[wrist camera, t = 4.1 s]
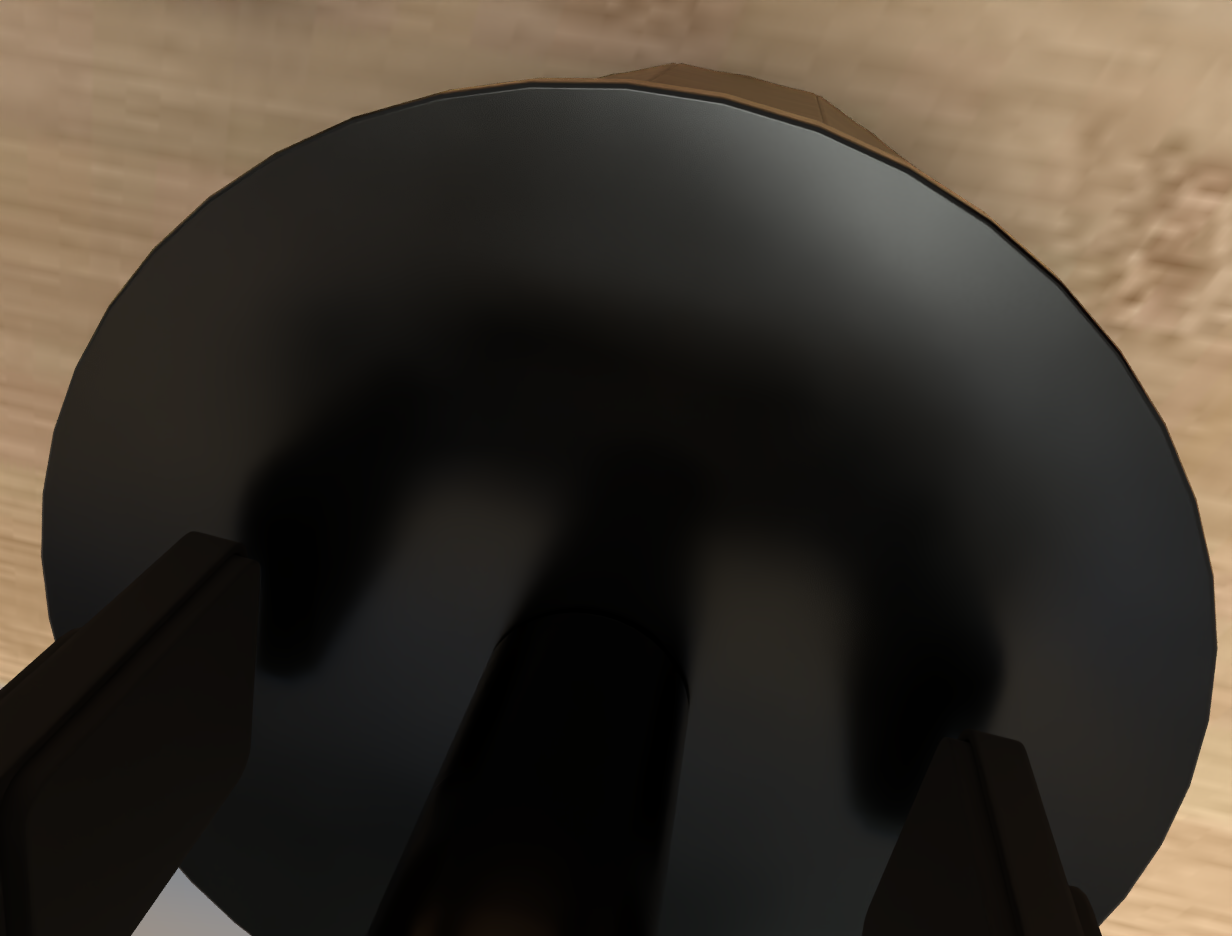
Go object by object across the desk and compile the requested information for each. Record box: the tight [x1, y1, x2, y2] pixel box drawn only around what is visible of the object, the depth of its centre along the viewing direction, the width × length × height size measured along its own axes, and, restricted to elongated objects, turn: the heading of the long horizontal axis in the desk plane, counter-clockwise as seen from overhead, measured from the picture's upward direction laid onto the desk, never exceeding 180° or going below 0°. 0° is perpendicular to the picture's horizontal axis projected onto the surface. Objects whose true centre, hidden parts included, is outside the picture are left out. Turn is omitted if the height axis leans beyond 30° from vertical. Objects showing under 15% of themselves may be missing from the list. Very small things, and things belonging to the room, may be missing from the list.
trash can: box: [597, 63, 916, 168], centre depth 17 cm, size 12×12×10 cm
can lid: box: [41, 78, 1217, 936], centre depth 10 cm, size 13×13×6 cm
